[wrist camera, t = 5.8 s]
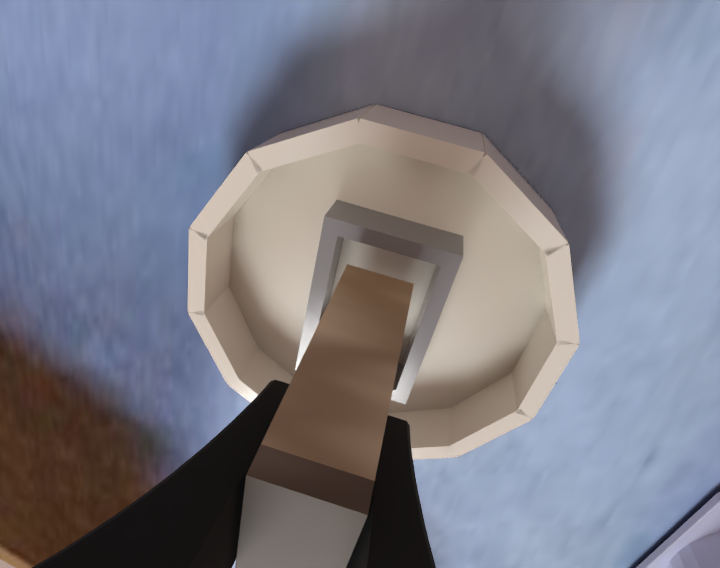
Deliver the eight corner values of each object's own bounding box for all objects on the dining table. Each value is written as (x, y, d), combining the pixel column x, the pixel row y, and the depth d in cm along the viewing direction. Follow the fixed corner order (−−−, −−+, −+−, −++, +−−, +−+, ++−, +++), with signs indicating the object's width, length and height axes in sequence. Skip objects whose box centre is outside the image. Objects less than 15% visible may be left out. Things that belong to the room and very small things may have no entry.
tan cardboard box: (414, 284, 13) (367, 515, 7) (381, 380, 15) (325, 618, 9) (346, 263, 13) (245, 475, 7) (324, 362, 15) (233, 586, 9)
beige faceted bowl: (633, 174, 13) (667, 202, 11) (481, 445, 19) (484, 497, 17) (234, 65, 13) (191, 72, 11) (215, 361, 20) (186, 401, 18)
